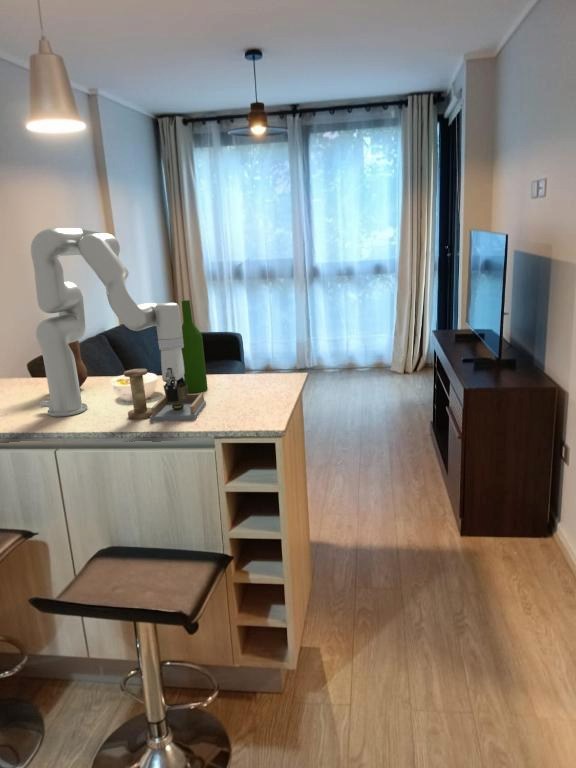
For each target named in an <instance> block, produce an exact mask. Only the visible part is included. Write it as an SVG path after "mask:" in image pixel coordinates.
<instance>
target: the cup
mask: <svg viewBox="0 0 576 768" xmlns="http://www.w3.org/2000/svg"><path fill="white" fill-rule="evenodd" d="M172 383H173V385H174V382H172ZM187 385H188V384H187V383H185V382H183V383H181V382H180V384H179V383H176V388H177V390H178V399H179V400H178V401H176V402H168V403H169V404H171V405H172V408H173V409H174V410H180V409H183V407H184V405H183V403H185V402H186V400H187ZM163 390H164V395H166V399H167V401H168V397H167V389H166V383H165V384H163Z"/></svg>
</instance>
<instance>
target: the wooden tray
mask: <svg viewBox="0 0 576 768" xmlns="http://www.w3.org/2000/svg"><path fill="white" fill-rule="evenodd" d="M204 395H205V394H204V392H202V393H197V394H187V400H186V402H185V403H183V405H184V407H183V409H180V410H174V409H173V408H172V405H171V404H169V403H168V401H167V399H166V395H165V394H164V395H163V396H162V397H161V398H160V399H158V401H157V402H156V403H155V404H154V405H153V406H152V407H150V408H151V410H152V415H151V416H150V417H149V422H150V423H151V422H152V423H154V422H153V421H158V422H174V421H175V422H176V421H177V420H180V421H194V420H193V419H196V420H197V418H198V417H199V416H200V414H201V413H202V412H203V410H204V409H205V407H206V406H207V402H206V400H205V396H204ZM205 405H206V406H205ZM204 406H205V407H204ZM203 408H204V409H203ZM202 409H203V410H202ZM200 412H201V413H200ZM199 413H200V414H199ZM198 415H199V416H198ZM197 416H198V417H197ZM177 422H178V421H177Z"/></svg>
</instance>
